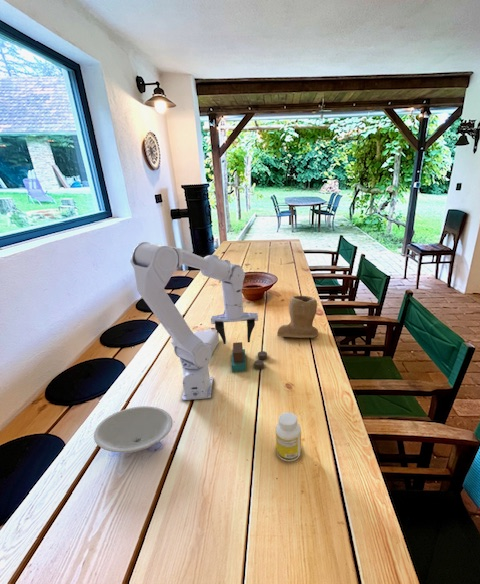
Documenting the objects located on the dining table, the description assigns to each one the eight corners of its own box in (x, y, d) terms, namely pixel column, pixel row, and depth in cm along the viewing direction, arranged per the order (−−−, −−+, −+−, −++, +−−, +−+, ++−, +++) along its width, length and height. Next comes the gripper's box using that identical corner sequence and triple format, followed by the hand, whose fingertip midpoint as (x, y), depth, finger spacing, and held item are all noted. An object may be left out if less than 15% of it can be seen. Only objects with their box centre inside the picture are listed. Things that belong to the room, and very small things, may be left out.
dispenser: (223, 335, 125) (212, 355, 112) (201, 334, 127) (187, 353, 113) (222, 324, 123) (210, 343, 110) (199, 323, 125) (185, 342, 111)
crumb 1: (267, 359, 108) (267, 355, 107) (258, 360, 108) (257, 356, 107) (266, 354, 111) (266, 350, 110) (257, 355, 111) (257, 351, 110)
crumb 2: (264, 369, 103) (264, 364, 102) (254, 369, 103) (254, 365, 102) (263, 363, 106) (263, 359, 105) (253, 364, 106) (253, 360, 105)
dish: (85, 466, 71) (78, 449, 69) (118, 420, 84) (113, 405, 82) (162, 470, 69) (158, 453, 67) (184, 422, 82) (181, 407, 80)
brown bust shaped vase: (318, 327, 129) (319, 292, 122) (317, 342, 118) (319, 304, 112) (280, 326, 131) (279, 291, 125) (276, 340, 120) (275, 303, 114)
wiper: (245, 371, 102) (244, 354, 100) (232, 372, 102) (230, 355, 100) (245, 355, 111) (244, 339, 109) (232, 356, 111) (231, 340, 109)
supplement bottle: (286, 439, 75) (285, 406, 71) (305, 450, 72) (306, 416, 68) (271, 454, 72) (270, 420, 68) (291, 466, 69) (291, 431, 64)
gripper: (256, 296, 102) (258, 334, 108) (210, 299, 101) (214, 337, 107) (257, 304, 96) (259, 344, 101) (208, 307, 95) (213, 348, 100)
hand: (236, 341), depth 104 cm, fingers open, 7 cm apart
